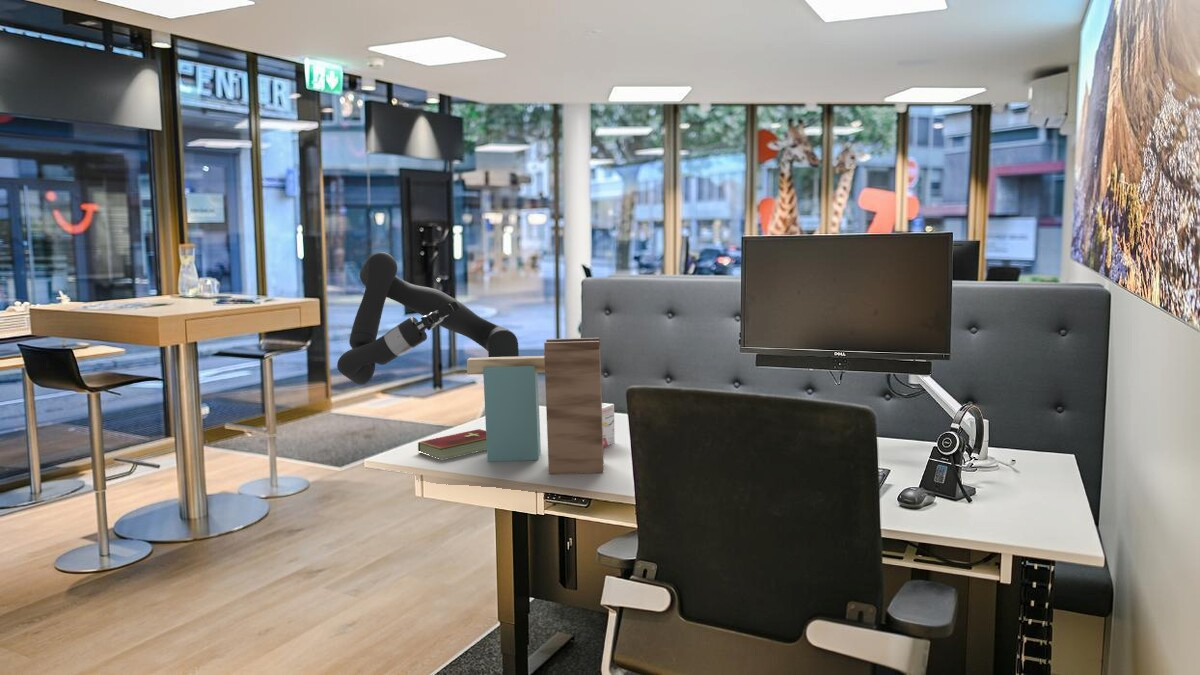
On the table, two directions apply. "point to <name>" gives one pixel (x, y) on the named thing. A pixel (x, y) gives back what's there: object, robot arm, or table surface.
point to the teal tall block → (512, 413)
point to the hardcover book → (454, 444)
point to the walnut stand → (574, 405)
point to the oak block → (505, 363)
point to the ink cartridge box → (608, 424)
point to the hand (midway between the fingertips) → (454, 305)
